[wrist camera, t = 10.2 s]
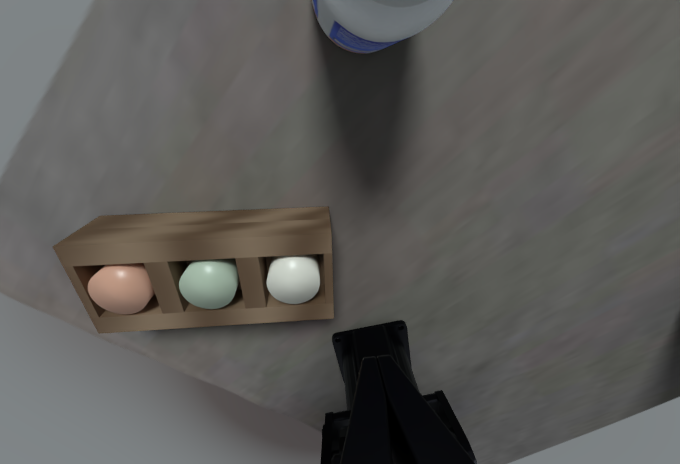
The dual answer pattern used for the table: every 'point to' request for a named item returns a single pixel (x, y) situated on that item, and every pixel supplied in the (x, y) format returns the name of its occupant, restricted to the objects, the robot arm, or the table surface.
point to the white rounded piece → (294, 278)
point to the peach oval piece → (121, 288)
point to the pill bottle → (375, 21)
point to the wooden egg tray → (201, 244)
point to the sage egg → (210, 282)
